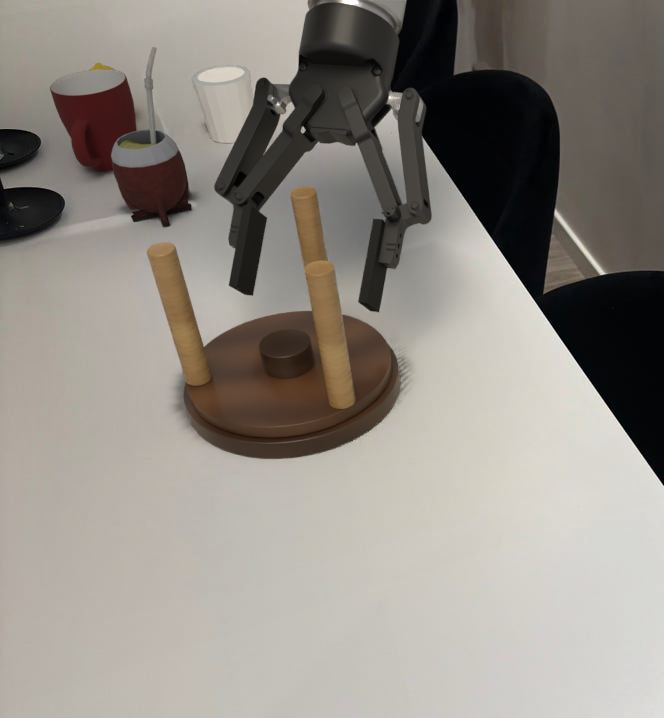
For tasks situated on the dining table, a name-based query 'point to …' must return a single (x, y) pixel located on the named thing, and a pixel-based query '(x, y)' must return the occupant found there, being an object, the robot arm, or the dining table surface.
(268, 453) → the rack base
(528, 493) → the dining table surface
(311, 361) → the rack turntable
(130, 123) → the mug
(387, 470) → the dining table surface
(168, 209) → the mate gourd
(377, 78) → the robot arm
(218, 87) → the shot glass
